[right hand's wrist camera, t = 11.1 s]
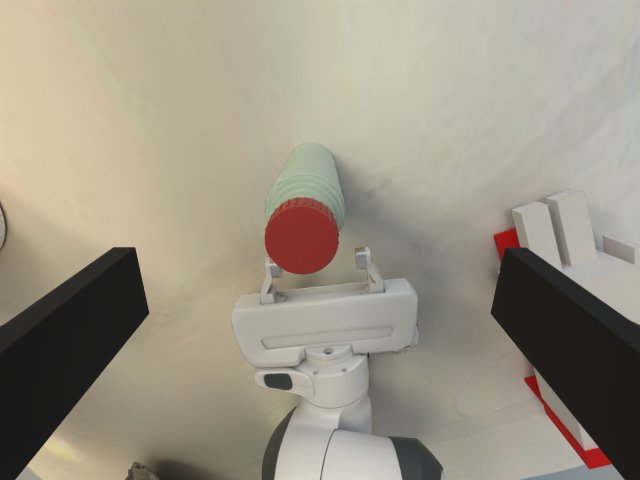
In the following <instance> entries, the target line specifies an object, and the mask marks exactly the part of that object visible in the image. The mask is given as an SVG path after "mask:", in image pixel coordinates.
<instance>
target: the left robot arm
mask: <svg viewBox="0 0 640 480" xmlns="http://www.w3.org/2000/svg"><path fill="white" fill-rule="evenodd" d="M4 238H5V222H4V217H3V214H2V211H1V208H0V249H1V247H2V245H3V242H4ZM355 253H356V264H357V268H358V269H366V270H367V272H368V273H369V274H368V282H358V283H348V284H338V285H328V286H318V287H308V288H298V289H289V290H279V291H276V288H275V284H271V283H272V280H273V278H277V277H281V272H282V268H280V267H279V266H278V265H276V264H275V263H274V262H273V260H272V259H271V258H270V257H267V258H266V260H265V270H266V278H265V280H264V282H263V285H262V288H261V291H260V292H259V293H249V294H242V295H240V296H239V298H238V299H237V301H236V302H235V304H234V306H233V309H232V312H231V324H232V328H233V331H234V334H235V337H236V340H237V343H238V345H239V348H240V350H241V352H242V354H243V356H244V358H245V359H246V360H247V361H248V362H249V363H250V364H252V365H253V366H255V368H254V380H255V383H256V385H257V386H259V387H262V388H268V389H275V390H280V391H285V392H290V393H294V394H297V395H300V396H301V403H300V406H299V407H295V408H294V409H293V410H291V411H290V413H289V414H288V415H287V416H286V417H285V418H284V419H283V421H282V422H281V423H280V424H279V425H278V427H277V428H276V429H275V431H274V433H273V434H272V436H271V438H270V441H269V443H268V446H267V448H266V451H265V455H264V459H263V465H262V480H446V479H445V475H444V473H443V467H442V466H441V464H440V463H439V462H438V460H437V459H436V458H435V457H434V455H433V454H432V453H431V452H430V451H429V450H428V449H427V448H426V447H425V446H424V445H423V444H422V443H421V442H420V441H419V440H418V439H416V438H404V437H391V436H389V437H388V438H387V437H381V436H376V435H372V407H371V400H370V397H369V394H368V392H367V391H368V388H369V368H368V357H375V356H383V355H388V354H403V353H406V350H408V349H411V348H412V347H414V346H415V345H417V343H418V326H417V324H416V320H417V312H418V297H417V294H416V291H415V289H414V287H413V286H412V285H411V284H410V283H409V282H408V281H407V280H406V279H404V278H397V279H387V280H382V277H381V274H380V272H379V271H378V269H377V268H376V267H375V266H374V264H373V263H372V262H371V252H370V249H369V247H362V248H355Z"/></svg>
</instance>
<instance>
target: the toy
mask: <svg viewBox="0 0 640 480" xmlns="http://www.w3.org/2000/svg"><path fill="white" fill-rule="evenodd" d="M545 200H546V204H545V203H541V202H537V201H535V202H532V203H529V204H526V205H523V206H520V207H517V208H514V209H512V210H511V212H512V216H513V220H514V224H515V227H516V228H513V229H510V230H507V231H505V232H502V233H499V234H496V235H494V239H495V242H496V245H497V248H498V251H499V255H500V258H501V261H502V258H503V254H504V249H505V247H527V248H528V249H529V250H531V251H532V252H534V253H535V254H536V255H538V256H539V257H541V258H542V259H544V260H545V261H546V262H548V263H549V264H551V265H552V266H554V267H555V268H556V269H558V270H559V271H561V272H562V273H563V274H565V275H566V276H568V277H569V278H571V279H572V280H573V281H575V282H576V283H578V284H579V285H580V286H582V287H583V288H585V289H586V290H588V291H589V292H590V293H592V294H593V295H595V296H596V297H597V298H599V299H600V300H602V301H603V302H605V303H606V304H607V305H609V306H610V307H612V308H613V309H614V310H616V311H617V312H619V313H620V314H622V315H623V316H624V317H626V318H627V319H629V320H631V321H633V322H635V323H637V324H639V325H640V246H637V245H635V244H632V243H629V242H627V241H624V240H621V239H619V238H616V237H613V236H610V235H604V236H603V245H604V252H601V251H599V250H596V246H595V241H594V236H593V231H592V226H591V221H590V217H589V212H588V207H587V202H586V197H585V192H584V191H578V190H573V189H570V190H567V191H564V192H561V193H558V194H555V195H552V196H549V197H546V198H545ZM499 272H500V271H498V275H499ZM533 368H534V367H533ZM534 372H535V376H532V377H528V378H524V380H525V382H526V384H527V385H528V386H529V387H530V389H531V390H532V391H533V392H534V394H535V395H536V396H537V397H538V399H539V400H540V401H541V402H542V404H543V405H544V408H545V412H546V414H547V415H548V416H549V418H550V419H551V420H552V422H553V423H554V424H555V425H556V427H557V428H558V429H559V431H560V432H561V433H562V434H563V436H564V437H565V438H566V440H567V441H568V442H569V443H570V445H571V446H572V447H573V449H574V450H575V451H576V452H577V454H578V455H579V456H580V458H581V459H582V460H583V461H584V463H585V464H586V465H587V467H588V468H589V469H593V468H597V467H602V466H606V465H610V464H612V463H611V462H610V461H609V460H608V458H607V457H606V456H605V455H604V453H603V452H602V451H601V450H600V448H599V447H598V446H597V445H596V443H595V442H594V441H593V440H592V438H591V437H590V436H589V435H588V433H587V432H586V431H585V430H584V429H583V427H582V426H581V425H580V424H579V422H578V421H577V420H576V419H575V417H574V416H573V415H572V414H571V412H570V411H569V410H568V409H567V407H566V406H565V405H564V404H563V402H562V401H561V400H560V399H559V398H558V396H557V395H556V394H555V393H554V391H553V390H552V389H551V388H550V386H549V385H548V384H547V383H546V381H545V380H544V379H543V378H542V376H541V375H540V374H539V373H538V372H537V370H536V369H535V368H534Z"/></svg>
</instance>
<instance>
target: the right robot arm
mask: <svg viewBox="0 0 640 480" xmlns="http://www.w3.org/2000/svg"><path fill="white" fill-rule="evenodd" d="M148 314H149V309H148V305H147V300H146V295H145V291H144V286H143V282H142V277H141V272H140V268H139V263H138V258H137V254H136V249H135V247H113V248H112V249H111V250H109V251H108V252H106V253H105V254H104V255H102V256H101V257H99V258H98V259H96V260H95V261H94V262H92V263H91V264H89V265H88V266H86V267H85V268H84V269H82V270H81V271H79V272H78V273H77V274H75V275H74V276H72V277H71V278H69V279H68V280H67V281H65V282H64V283H62V284H61V285H60V286H58V287H57V288H55V289H54V290H52V291H51V292H50V293H48V294H47V295H45V296H44V297H43V298H41V299H40V300H38V301H37V302H35V303H34V304H33V305H31V306H30V307H28V308H27V309H26V310H24V311H23V312H21V313H20V314H18V315H17V316H16V317H14V318H13V319H11V320H10V321H8V322H7V323H6V324H4V325H2V326H0V480H15V479H16V478H17V477H18V476H19V474H20V473H21V472H22V471H23V469H24V468H25V467H26V466H27V464H28V463H29V462H30V461H31V460H32V458H33V457H34V456H35V455H36V453H37V452H38V451H39V450H40V448H41V447H42V446H43V445H44V443H45V442H46V441H47V440H48V438H49V437H50V436H51V435H52V433H53V432H54V431H55V430H56V429H57V427H58V426H59V425H60V424H61V422H62V421H63V420H64V419H65V417H66V416H67V415H68V414H69V412H70V411H71V410H72V409H73V407H74V406H75V405H76V404H77V402H78V401H79V400H80V399H81V398H82V396H83V395H84V394H85V393H86V391H87V390H88V389H89V388H90V386H91V385H92V384H93V383H94V381H95V380H96V379H97V378H98V376H99V375H100V374H101V373H102V371H103V370H104V369H105V368H106V367H107V365H108V364H109V363H110V362H111V360H112V359H113V358H114V357H115V355H116V354H117V353H118V352H119V350H120V349H121V348H122V347H123V345H124V344H125V343H126V342H127V341H128V339H129V338H130V337H131V336H132V334H133V333H134V332H135V331H136V329H137V328H138V327H139V326H140V324H141V323H142V322H143V321H144V319H145V318H146V317H147V316H148ZM491 314H492V316H493V317H494V318H495V319H496V321H497V322H498V323H499V324H500V326H501V327H502V328H503V329H504V331H505V332H506V333H507V334H508V336H509V337H510V338H511V339H512V341H513V342H514V343H515V344H516V345H517V347H518V348H519V349H520V350H521V352H522V353H523V354H524V355H525V357H526V358H527V359H528V360H529V362H530V363H531V364H532V365H533V367H534V368H535V369H536V370H537V372H538V373H539V374H540V375H541V376H542V378H543V379H544V380H545V381H546V383H547V384H548V385H549V386H550V388H551V389H552V390H553V391H554V393H555V394H556V395H557V396H558V398H559V399H560V400H561V401H562V402H563V404H564V405H565V406H566V407H567V409H568V410H569V411H570V412H571V414H572V415H573V416H574V417H575V419H576V420H577V421H578V422H579V424H580V425H581V426H582V427H583V429H584V430H585V431H586V432H587V433H588V435H589V436H590V437H591V438H592V440H593V441H594V442H595V443H596V445H597V446H598V447H599V448H600V450H601V451H602V452H603V453H604V455H605V456H606V457H607V458H608V460H609V461H610V462H611V463H612V464H613V466H614V467H615V468H616V469H617V471H618V472H619V473H620V474H621V476H622V477H623V478H624V479H625V480H640V325H639V324H637V323H635V322H633V321H631V320H629V319H627V318H626V317H624V316H623V315H622V314H620V313H619V312H617V311H616V310H614V309H613V308H612V307H610V306H609V305H607V304H606V303H605V302H603V301H602V300H600V299H599V298H597V297H596V296H595V295H593V294H592V293H590V292H589V291H588V290H586V289H585V288H583V287H582V286H580V285H579V284H578V283H576V282H575V281H573V280H572V279H571V278H569V277H568V276H566V275H565V274H563V273H562V272H561V271H559V270H558V269H556V268H555V267H554V266H552V265H551V264H549V263H548V262H546V261H545V260H544V259H542V258H541V257H539V256H538V255H536V254H535V253H534V252H532V251H531V250H529V249H528V248H527V247H505V249H504V254H503V258H502V263H501V268H500V272H499V277H498V282H497V286H496V291H495V295H494V300H493V305H492V309H491Z"/></svg>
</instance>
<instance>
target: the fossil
mask: <svg viewBox="0 0 640 480" xmlns="http://www.w3.org/2000/svg"><path fill="white" fill-rule="evenodd" d="M128 475H129V476H128V477H126V479H125V480H160V479H159V478H158V476H157V475H156V474H154V473H153V472H151V471H150V470H149V469H148V468H147V467H146V466H144V465H142V464H140V463H137V462H134V463H133V465H132V467H131V469H130V470H128Z"/></svg>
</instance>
